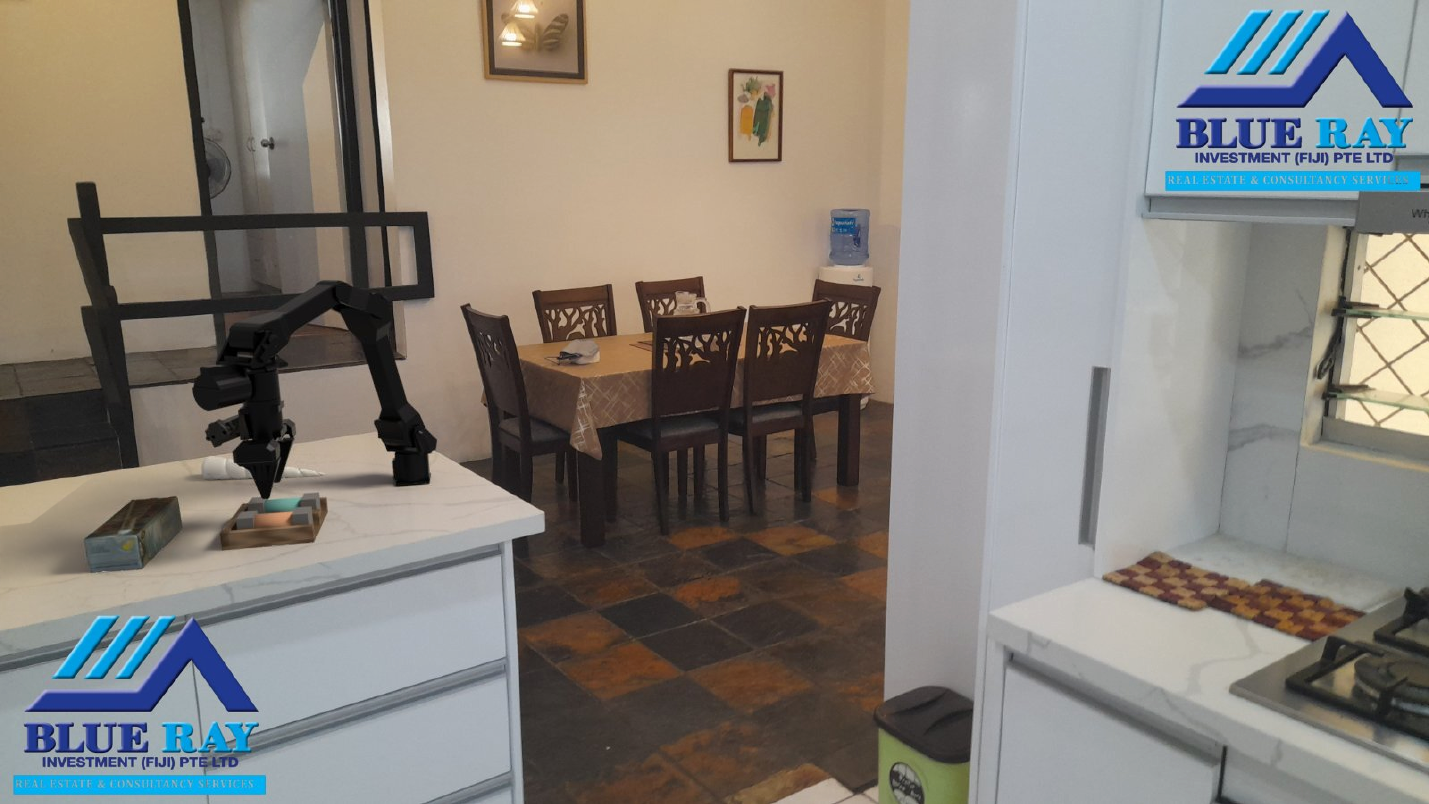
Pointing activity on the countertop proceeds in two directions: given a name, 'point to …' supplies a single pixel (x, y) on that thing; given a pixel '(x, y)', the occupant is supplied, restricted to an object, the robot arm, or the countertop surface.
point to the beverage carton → (133, 535)
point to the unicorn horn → (242, 470)
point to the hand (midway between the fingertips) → (271, 490)
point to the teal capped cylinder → (284, 503)
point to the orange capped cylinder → (274, 519)
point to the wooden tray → (272, 531)
